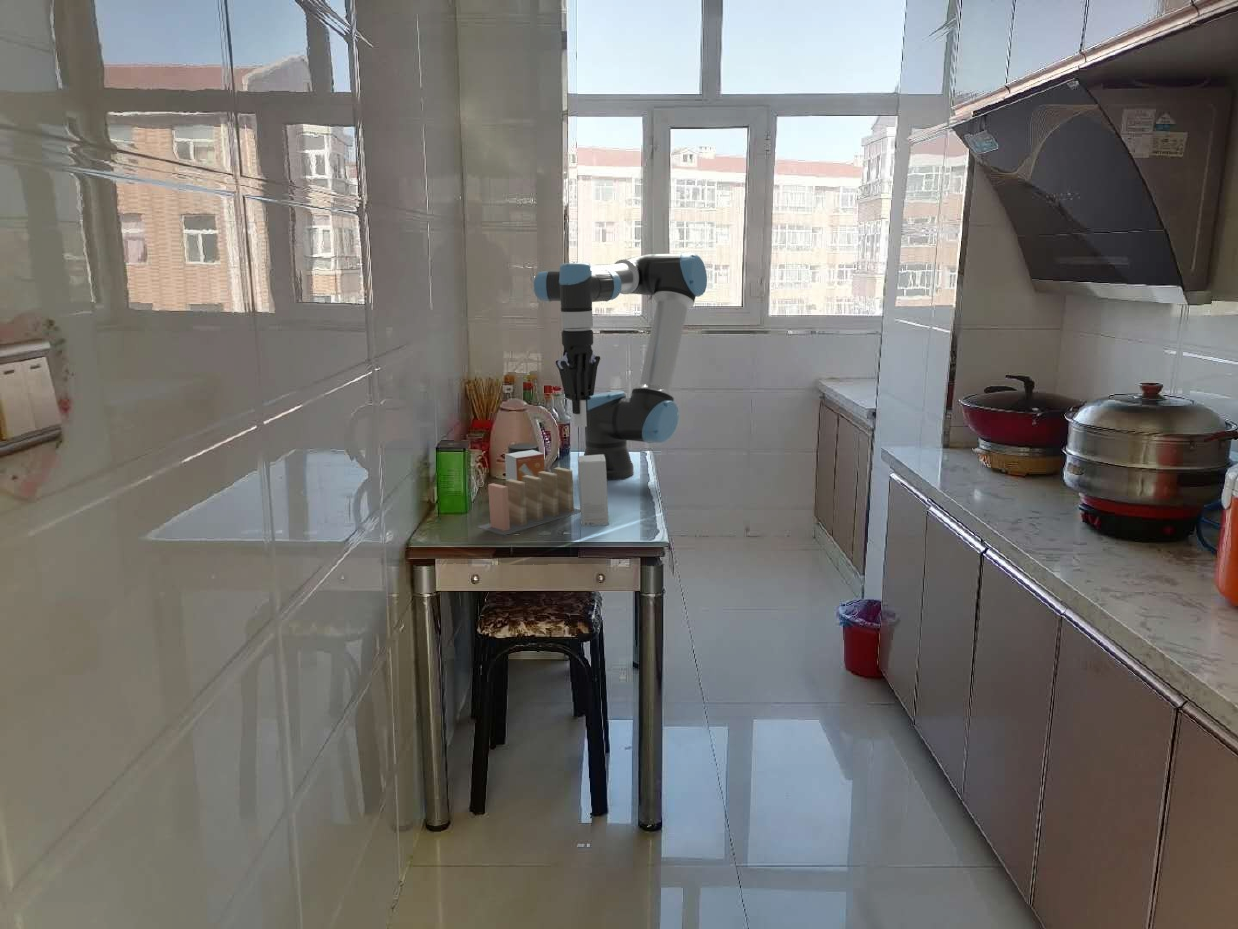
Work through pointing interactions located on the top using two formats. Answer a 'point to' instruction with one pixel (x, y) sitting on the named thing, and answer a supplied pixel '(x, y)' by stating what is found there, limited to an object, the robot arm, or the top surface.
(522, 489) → the domino
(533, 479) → the domino
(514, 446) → the jar
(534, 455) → the small box
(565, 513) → the mat
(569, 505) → the domino
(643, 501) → the top surface
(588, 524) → the skincare box
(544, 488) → the domino
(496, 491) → the domino
